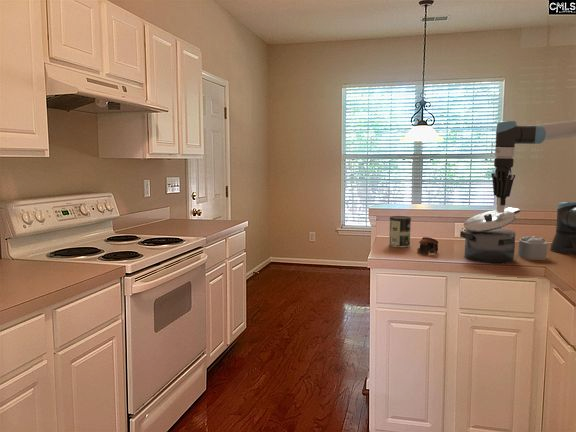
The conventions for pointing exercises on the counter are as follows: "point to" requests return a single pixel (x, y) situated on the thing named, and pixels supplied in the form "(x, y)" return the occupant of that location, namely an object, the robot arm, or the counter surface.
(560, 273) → the counter surface
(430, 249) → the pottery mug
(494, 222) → the lid
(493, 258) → the pot
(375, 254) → the counter surface
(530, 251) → the lumpy-topped squat cylinder
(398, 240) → the coffee can
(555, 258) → the counter surface
